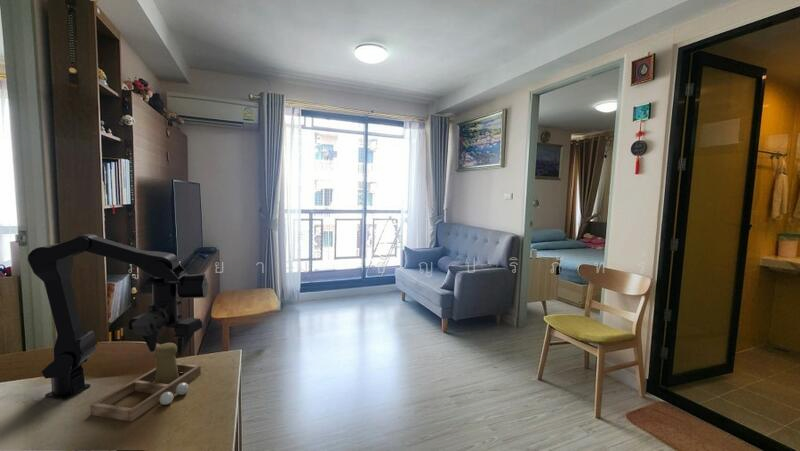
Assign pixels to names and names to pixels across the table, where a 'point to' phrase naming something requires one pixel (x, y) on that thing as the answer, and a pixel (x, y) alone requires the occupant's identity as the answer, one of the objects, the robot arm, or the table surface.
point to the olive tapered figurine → (166, 363)
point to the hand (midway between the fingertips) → (166, 353)
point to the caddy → (141, 385)
